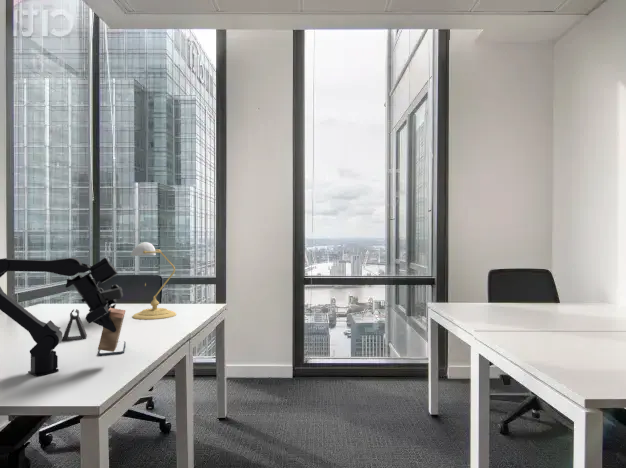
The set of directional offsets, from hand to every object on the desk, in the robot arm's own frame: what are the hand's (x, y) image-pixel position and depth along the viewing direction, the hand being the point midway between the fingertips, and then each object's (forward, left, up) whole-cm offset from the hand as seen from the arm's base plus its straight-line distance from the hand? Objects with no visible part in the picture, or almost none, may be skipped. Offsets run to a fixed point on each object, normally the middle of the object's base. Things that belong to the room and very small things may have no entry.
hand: (116, 329), depth 146 cm
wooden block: (-2, +2, -6) cm, 7 cm away
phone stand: (+12, +50, -12) cm, 53 cm away
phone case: (+10, +20, -13) cm, 26 cm away
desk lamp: (+63, +67, -12) cm, 93 cm away
